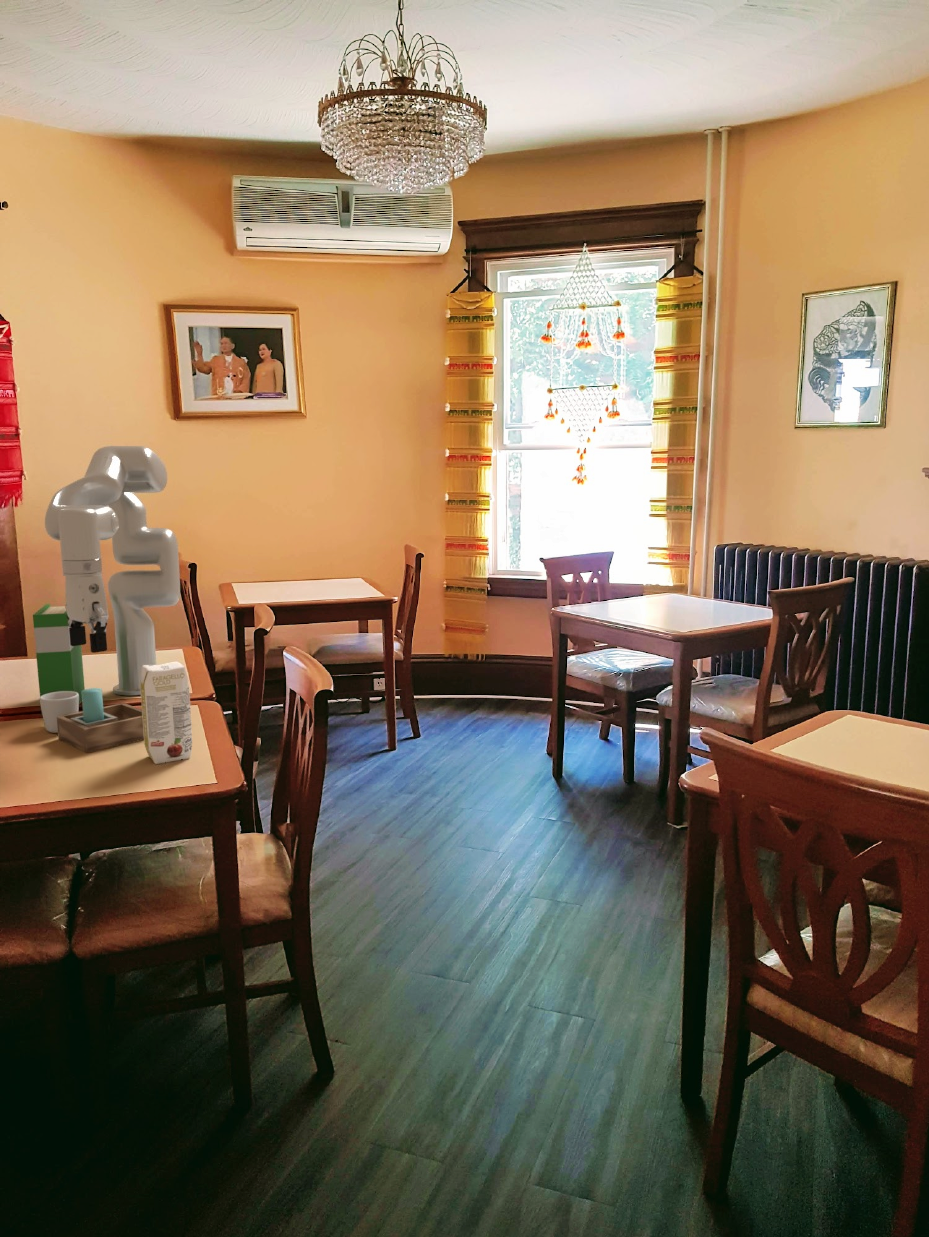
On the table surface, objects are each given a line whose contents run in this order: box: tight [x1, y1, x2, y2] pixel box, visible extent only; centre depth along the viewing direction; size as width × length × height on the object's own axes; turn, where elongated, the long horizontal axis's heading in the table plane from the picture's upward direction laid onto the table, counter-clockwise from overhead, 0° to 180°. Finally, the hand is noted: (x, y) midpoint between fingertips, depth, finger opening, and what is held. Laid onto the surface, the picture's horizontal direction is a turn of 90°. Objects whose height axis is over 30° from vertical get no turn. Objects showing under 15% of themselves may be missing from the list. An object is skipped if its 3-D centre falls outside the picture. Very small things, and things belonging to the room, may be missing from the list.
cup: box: [38, 691, 80, 734], centre depth 194 cm, size 11×8×8 cm
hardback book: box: [32, 603, 86, 716], centre depth 213 cm, size 18×7×24 cm, turn 16°
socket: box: [71, 712, 118, 727], centre depth 186 cm, size 7×7×4 cm
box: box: [57, 702, 144, 754], centre depth 188 cm, size 15×14×5 cm
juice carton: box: [140, 661, 193, 765], centre depth 174 cm, size 8×9×19 cm
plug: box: [81, 687, 104, 723], centre depth 185 cm, size 4×4×10 cm
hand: (88, 648), depth 183 cm, fingers open, 9 cm apart
